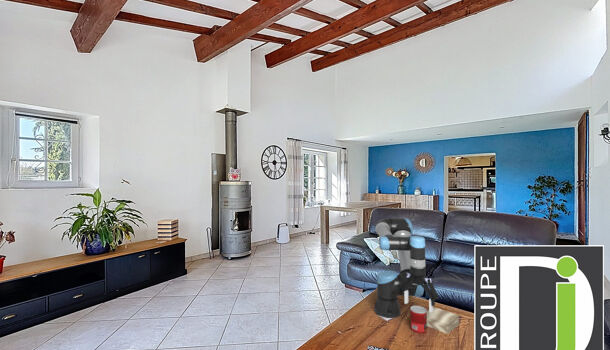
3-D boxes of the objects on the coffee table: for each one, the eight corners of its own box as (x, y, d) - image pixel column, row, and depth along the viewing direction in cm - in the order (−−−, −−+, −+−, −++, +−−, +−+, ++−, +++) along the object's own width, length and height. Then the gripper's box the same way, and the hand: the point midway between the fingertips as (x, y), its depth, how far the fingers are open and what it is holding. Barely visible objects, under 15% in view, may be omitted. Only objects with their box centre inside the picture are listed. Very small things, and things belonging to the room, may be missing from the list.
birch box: (421, 323, 155) (421, 314, 155) (433, 315, 164) (433, 306, 164) (447, 334, 144) (447, 324, 144) (458, 324, 153) (458, 315, 153)
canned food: (428, 334, 144) (428, 312, 144) (411, 332, 146) (411, 311, 146) (425, 326, 152) (424, 306, 152) (409, 325, 153) (409, 304, 153)
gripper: (392, 262, 156) (393, 301, 155) (438, 273, 137) (439, 318, 137) (400, 260, 161) (400, 297, 160) (445, 270, 142) (446, 313, 142)
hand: (418, 307), depth 149 cm, fingers open, 13 cm apart
